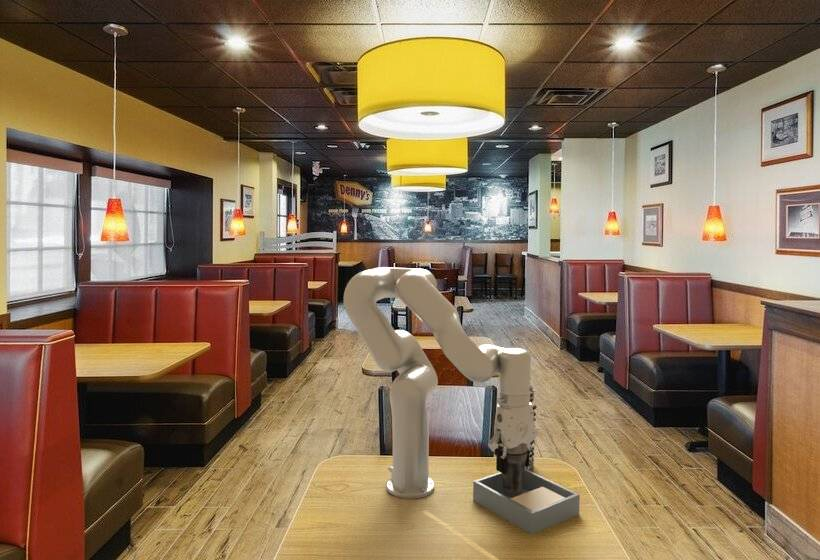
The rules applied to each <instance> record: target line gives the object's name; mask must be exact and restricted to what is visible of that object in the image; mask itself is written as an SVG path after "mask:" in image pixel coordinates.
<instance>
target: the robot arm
mask: <svg viewBox="0 0 820 560" xmlns="http://www.w3.org/2000/svg"><path fill="white" fill-rule="evenodd" d="M437 285H438V284H437V279H436V278H435V275H434V274H433V273H432V272H431V271H429V270H428V269H424V268H415V267H414V268H410V267H409V268H407V267H389V266H388V267H387V266H382V267H374V268H370V269H366V270H363V271H359V272H358V273H356V274H355V275H354V276H352V277H351V278H350V279H349V281H348V282H347V284H346V287H345V290H344V291H343V292H344V293H343V307H344V309H345V312H346V314H347V317H348V318H349V320H350V321H351V324H352V325H353V326H354V328H355V330H356V331H357V333H358V335H359V336H360V338H361V340H362V343H364V346H365V348H366V349H367V350H368V353H369V354H370V356H371V357H372V359H373V361H374V363H375V364H376V366H377V367H378V368H379V369H380V370H381V371H383V372H385V373H393V372H395V371H397V372H398V374H399V375H397V377H395V378H394V380H393V381H392V384H391V386H390V389H389V402H390V409H391V421H392V424H391V425H392V427H391V428H392V430H391V431H392V464H391V465H389V466H388V468H387V470H388V471H389V472H390V473H391V478H390V479H389V480H388V481H387V483H386V490H387V492H389V494H391V495H392V496H395V497H398V498H401V499H410V500H411V499H413V500H414V499H420V498H424V497H427V496H429V495H430V494H432V493H433V492H434V491H435V483H434V481H433V480H432V478H430V477H429V467H430V465H429V464H430V463H429V456H430V454H429V447H430V446H429V445H430V441H429V439H430V438H429V437H430V435H429V430H430V429H429V427H430V426H429V425H430V423H429V413H428V406H427V404H428V403H427V402H428V399H429V398H430V397H431V396H432V395H433V394H434V393H435V392H436V390H437V387H438V382H439V381H438V376H437V372H436V370H435V368H434V366H433V364H432V363H431V361H430V360H429V358H428V356H427V355H426V353H425V352H424V350H423V348H422V346H421V345H420V343H419V342H418V339H416V337H414V335H413V334H411V333H410V332H409V331H406V330H403V329H394V328H393V326H392V324H391V323H390V321H389V319H388V317H387V316H386V315H385V313H384V312H383V311H382V310H381V308H379V306H378V305H377V302H378V301H380V300H382V299H387V298H388V299H389V298H391V299H400V300H401V302H403V304H404V305H405V306H406V307H407V308H408V309H409V310H410V311H411V312H412V313H413V314H414V315H415V316H416V317H417V318H418V319H419V320H420V321H421V322H422V323H423V324H424V325H425V326H426V328H427V329H428V330H430V332H431V334H433V336H434V339H435V341H436V342H437V344H438V345H439V347H440V348H441V351H442V352H443V354H444V355H445V357H446V358H447V359H448V360H449V361H450V362H451V364H453V366H454V367H456V369H457V370H458V371H459V372H461V374H462V375H463V376H464V377H466V378H467V379H468V380H469V381H471V382H474V383H479V384H480V383H482V384H483V383H485V382H486V383H487V381H489V380H490V379H492V377H493V376H494V375H496V374H497V375H498V378H499V379H498V383H499V384H498V398H497V399H496V402H497V406H496V412H495V417H494V426H493V428H494V429H493V436H492V437H491V439H490V440H489V441H488V443H487V446H488V448H489V449H490V450H491V452H492V453H493V454H494V455H495V457H496V460H495V461H496V463H495V465H496V466H495V467H496V471H497V472H498V473H499V472H501V473H503V474H507V458H505V457H506V454H507V451H508V449H512V448H515V447H517V446H518V445H519V444H521V443H525V444H527V447H528V453H527V458H526V462H525V466H529V456H530V450H531V449H532V447H531V446H532V444H533V445H534V442H535V439H536V437H537V436H538V434H539V432H538V430H537V429H536V425H535V421H534V418H535V416H534V413H533V412H534V410H533V407H532V404H531V403H530V385H531V365H532V364H531V359H532V358H531V353H530V352H529V351H528V350H526V349H524V348H520V347H507V348H506V347H500V346H498V345H494V344H489V343H487V344H481V345H478V346H477V345H476V343H474V342H473V340H472V339H471V338H470V337H469V336H468V334H467V333H466V331H465V330H464V328H463V326H462V324H461V319H460V314H459V312H458V310H457V308H456V307H455V306H454V305H453V303H452V302H450V301H449V300H448V299H447V298H446V297H445V295H443V294H442V293H441V292H440V291H439V290H438V289H437ZM534 425H535V426H534ZM501 446H502V447H504V448H503V450H502V452H501V451H500V450H501Z"/></svg>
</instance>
